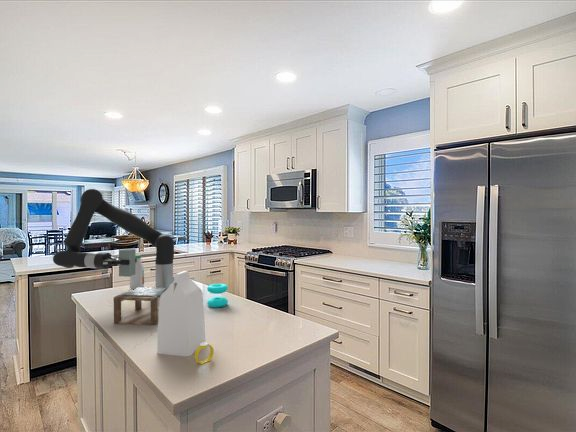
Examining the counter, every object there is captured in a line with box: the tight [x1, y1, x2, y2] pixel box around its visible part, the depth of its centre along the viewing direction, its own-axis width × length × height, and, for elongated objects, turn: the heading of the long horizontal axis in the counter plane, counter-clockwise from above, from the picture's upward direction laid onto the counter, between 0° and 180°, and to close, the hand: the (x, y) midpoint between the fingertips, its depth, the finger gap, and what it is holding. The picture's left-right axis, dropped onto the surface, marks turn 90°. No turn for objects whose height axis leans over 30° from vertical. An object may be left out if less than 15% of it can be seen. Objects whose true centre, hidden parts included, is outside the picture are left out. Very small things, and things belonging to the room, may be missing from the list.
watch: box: [194, 341, 214, 365], centre depth 101 cm, size 6×3×6 cm, turn 137°
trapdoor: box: [116, 286, 167, 302], centre depth 144 cm, size 17×13×3 cm
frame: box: [113, 287, 168, 326], centre depth 144 cm, size 18×18×11 cm
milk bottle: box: [129, 254, 145, 290], centre depth 196 cm, size 8×8×20 cm
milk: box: [156, 270, 207, 357], centre depth 112 cm, size 12×12×26 cm
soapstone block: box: [118, 248, 137, 278], centre depth 151 cm, size 5×5×12 cm
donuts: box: [206, 283, 229, 308], centre depth 162 cm, size 10×10×10 cm
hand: (132, 261), depth 151 cm, fingers closed on soapstone block, 5 cm apart
